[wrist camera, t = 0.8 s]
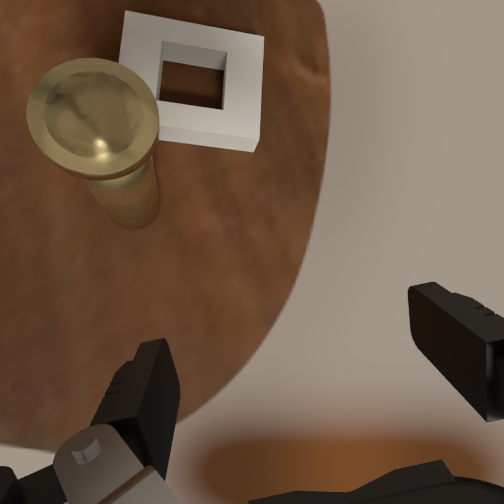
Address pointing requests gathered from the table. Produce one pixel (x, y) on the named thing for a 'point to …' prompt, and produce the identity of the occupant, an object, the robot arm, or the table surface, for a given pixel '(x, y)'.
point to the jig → (204, 55)
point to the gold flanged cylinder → (101, 134)
